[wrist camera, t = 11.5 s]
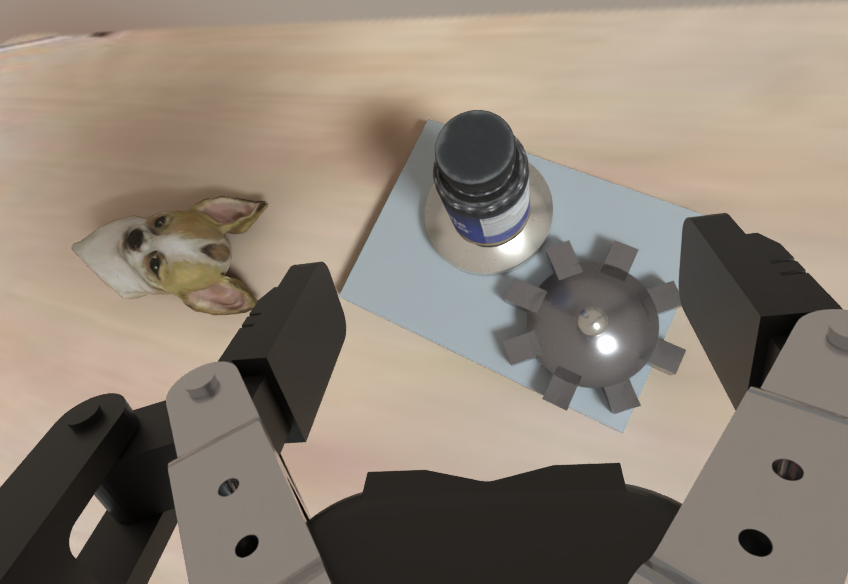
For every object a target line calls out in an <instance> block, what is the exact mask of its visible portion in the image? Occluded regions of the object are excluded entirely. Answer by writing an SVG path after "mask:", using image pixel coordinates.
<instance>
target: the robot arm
mask: <svg viewBox="0 0 848 584" xmlns="http://www.w3.org/2000/svg"><path fill="white" fill-rule="evenodd" d="M679 296H680V301H681V305H682V308H683V310H684V312H685V314H686V316H687V318H688V320H689V322H690V324H691V325H692V327H693V329H694V331H695V333H696V335H697V337H698V339H699V341H700V343H701V345H702V347H703V349H704V350H705V352H706V354H707V356H708V358H709V360H710V362H711V364H712V366H713V368H714V370H715V372H716V374H717V376H718V377H719V379H720V381H721V383H722V385H723V387H724V389H725V391H726V393H727V395H728V397H729V399H730V401H731V402H732V404H733V406H734V408H735V410H736V411H735V413H734V415H733V417H732V418H731V420H730V422H729V424H728V425H727V427H726V429H725V431H724V432H723V434H722V436H721V438H720V439H719V441H718V443H717V445H716V446H715V448H714V450H713V452H712V453H711V455H710V457H709V459H708V460H707V462H706V464H705V466H704V467H703V469H702V471H701V473H700V474H699V476H698V478H697V480H696V481H695V483H694V485H693V487H692V488H691V490H690V492H689V494H688V495H687V497H686V499H685V501H684V502H683V504H681V503H680V502H678V501H676V500H674V499H672V498H670V497H667V496H665V495H662V494H660V493H657V492H655V491H652V490H648V489H645V488H642V487H638V486H634V485H629V484H625V482H624V478H623V473H622V469H621V465H620V463H605V464H577V465H553V466H549V467H545V468H541V469H537V470H533V471H530V472H526V473H522V474H518V475H514V476H510V477H506V478H503V479H499V480H495V481H487V482H485V481H478V480H473V479H468V478H463V477H458V476H453V475H448V474H443V473H438V472H433V471H428V470H411V471H384V472H368V473H367V477H366V481H365V485H364V490H363V492H361V493H358V494H355V495H352V496H350V497H347V498H345V499H342V500H340V501H338V502H336V503H334V504H332V505H330V506H329V507H327V508H326V509H324V510H322V511H321V512H319V513H318V514H316V515H315V516H314V517H312V518H311V516H310V514H309V512H308V510H307V508H306V506H305V504H304V501H303V499H302V497H301V495H300V493H299V491H298V489H297V486H296V484H295V482H294V480H293V478H292V476H291V473H290V471H289V469H288V467H287V465H286V463H285V461H284V459H283V457H282V455H281V451H282V448H283V446H284V444H285V443H298V442H306V440H307V438H308V435H309V432H310V430H311V427H312V425H313V422H314V419H315V417H316V414H317V411H318V409H319V406H320V403H321V401H322V398H323V395H324V393H325V390H326V388H327V385H328V382H329V380H330V377H331V374H332V372H333V369H334V366H335V364H336V361H337V358H338V356H339V353H340V351H341V348H342V345H343V343H344V340H345V336H346V321H345V316H344V312H343V309H342V307H341V304H340V301H339V298H338V295H337V292H336V289H335V286H334V283H333V280H332V277H331V274H330V272H329V269H328V267H327V265H326V264H325V263H324V262H315V263H307V264H299V265H293V266H291V267H290V269H289V270H288V272H287V273H286V275H285V276H284V278H283V280H282V281H281V283H280V284H279V286H278V287H274V288H273V289H272V290H270V291H269V292H268V293H267V294H266V295H264V296H263V297H262V298H261V299H259V300H258V302H257V303H256V305H255V306H254V308H253V309H252V311H251V312H250V314H249V315H250V317H247V318H246V320H245V321H244V323H243V324H242V328H240V329H239V330H238V332H237V333H236V335H235V336H234V338H233V339H232V341H231V342H230V344H229V345H228V347H227V348H226V350H225V351H224V353H223V355H222V356H221V358H220V359H219V361H218V362H213V363H209V364H206V365H203V366H200V367H198V368H196V369H194V370H192V371H190V372H189V373H187V374H185V375H184V376H183V377H181V378H180V379H179V380H178V381H177V382H176V383H175V384H174V385H173V386H172V387H171V389H170V390H169V392H168V394H167V397H166V400H165V401H162V402H159V403H156V404H152V405H149V406H146V407H142V408H139V409H136V410H132V408H131V407H130V406H129V404H128V403H127V401H126V400H125V398H124V397H123V396H122V395H120V394H115V393H109V394H103V395H99V396H96V397H93V398H90V399H88V400H86V401H84V402H82V403H80V404H78V405H77V406H75V407H74V408H72V409H71V410H69V411H68V412H67V413H65V414H64V415H63V416H62V417H61V418H60V419H59V420H58V421H57V422H56V423H55V424H54V425H53V426H52V428H51V429H50V430H49V431H48V432H47V433H46V435H45V436H44V437H43V438H42V439H41V440H40V442H39V443H38V444H37V445H36V446H35V447H34V449H33V450H32V451H31V452H30V453H29V454H28V456H27V457H26V458H25V459H24V460H23V461H22V463H21V464H20V465H19V466H18V467H17V469H16V470H15V471H14V472H13V473H12V474H11V476H10V477H9V478H8V479H7V480H6V481H5V483H4V484H3V485H2V486H1V487H0V584H148V582H149V579H150V577H151V575H152V573H153V571H154V569H155V567H156V565H157V563H158V561H159V559H160V557H161V555H162V553H163V551H164V549H165V547H166V545H167V543H168V541H169V539H170V537H171V535H172V533H173V531H174V528H175V526H176V524H177V522H178V527H179V532H180V537H181V543H182V548H183V554H184V559H185V565H186V570H187V575H188V581H189V584H844V583H845V580H846V576H847V573H848V310H843V309H842V308H841V307H840V305H839V304H838V303H837V302H836V301H835V300H834V299H833V298H832V297H831V296H830V295H829V294H828V293H827V292H826V291H825V290H824V289H823V288H822V287H821V286H820V285H819V284H818V283H817V282H816V280H815V279H814V278H813V277H812V276H811V275H810V274H809V273H806V272H805V269H804V268H803V267H802V266H801V265H800V264H799V263H798V262H797V261H794V258H793V256H792V255H791V254H790V253H789V252H788V251H787V250H786V249H785V248H784V247H783V246H782V245H781V244H780V243H778V242H775V241H773V240H771V239H769V238H767V237H765V236H763V235H761V234H759V233H752V234H745V233H744V232H743V230H742V229H741V228H740V227H739V226H738V225H737V224H736V222H735V221H734V220H733V219H732V218H731V217H730V216H729V215H728V214H727V213H720V214H712V215H704V216H696V217H688V218H686V219H685V220H684V223H683V228H682V240H681V254H680V267H679ZM93 495H95V496H96V498H97V499H98V500H99V501H100V502H101V503H102V505H103V506H104V507H105V508H106V509H107V511H106V512H105V514H104V515H103V517H102V519H101V520H100V522H99V523H98V525H97V527H96V528H95V530H94V531H93V533H92V535H91V536H90V538H89V539H88V541H87V542H86V544H85V546H84V547H83V549H82V550H81V552H80V554H79V555H78V557H77V558H75V557H74V556H73V555H72V553H71V551H70V547H69V538H70V533H71V530H72V527H73V525H74V524H75V522H76V520H77V519H78V517H79V516H80V514H81V513H82V511H83V510H84V508H85V507H86V506H87V504H88V503H89V501H90V500H91V498H92V497H93Z"/></svg>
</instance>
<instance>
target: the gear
mask: <svg viewBox="0 0 848 584" xmlns="http://www.w3.org/2000/svg"><path fill="white" fill-rule="evenodd" d="M638 250H639V249H636V248H634V247H631V246H629V245H626V244H623V243H621V242H618V241H615V240H614V242H613V244H612V246H611V249H610V251H609V253H608V255H607V257H606V260H605V262H604V263H597V262H583V263H579V261H578V259H577V257H576V254H575V252H574V250H573V247H572V245H571V243H570V240H568V241H565V242H563V243H560V244H557V245H555V246H552V247H549V248H547V249H546V256H547V258H548V261H549V263H550V266H551V268H552V270H553V274H552V275H550V276H549V277H548V278H547V279H546V280H545V281H544V282H543V283H542V284H541V285H540V286H539V288H538V287H536V286H533V285H531V284H529V283H526V282H524V281H522V280H519V279H517V278H514V280H513V282H512V284H511V286H510V288H509V290H508V293H507V295H506V297H505V302H506V303H507V304H509V305H512V306H514V307H516V308H518V309H521V310H523V311H525V312H528V313H527V333H525V334H523V335H520V336H517V337H514V338H512V339H509V340H506V341H503V344H504V347H505V349H506V352H507V355H508V357H509V360H510V363H511V365H512V366H515V365H518V364H521V363H524V362H527V361H529V360H532V359H535V358H537V359H538V361H539V362H540V363H541V364H542V366H543V367H544V368H545V369H546V370H547V371H548V372H549V373H551V374H552V375H553V377H552V379H551V381H550V383H549V385H548V388H547V390H546V392H545V394H544V396H543V399H544V400H546V401H548V402H550V403H552V404H554V405H556V406H558V407H560V408H562V409H564V410H567V409H568V407H569V405H570V402H571V400H572V398H573V396H574V393H575V391H576V389H577V387H583V388H601V389H602V391H603V393H604V396H605V398H606V401H607V403H608V405H609V408H610V410H611V413H612V414H617V413H620V412H623V411H626V410H629V409H632V408H635V407H638V406H641V405H640V402H639V400H638V398H637V395H636V393H635V391H634V389H633V386H632V384H631V382H630V379H629V378H631V377H633V376H634V375H635V374H637V373H638V372H639V371H640V370H641V369H642V368H643V367H644V366H645V365H648V366H651V367H653V368H655V369H657V370H660V371H662V372H664V373H667V374H669V375H674V374H676V372H677V370H678V368H679V365H680V363H681V361H682V358H683V356H684V354H685V351H686V350H685V349H683V348H680V347H678V346H676V345H673V344H671V343H668V342H666V341H664V340H661V339H659V338H658V336H659V317H658V315H660V314H663V313H666V312H669V311H672V310H675V309H677V308H680V307H681V306H682V305H681V301H680V296H679V291H678V289H677V287H676V285H675V283H674V280H673V281H670V282H668V283H665V284H662V285H659V286H656V287H654V288H651V289H648V290H646V288H645V287H644V286H643V285H642V284H641V283H640V282H639V281H638V280H637V279H636V278H635V277H633V276H632V275H631V274H629V271H630V268H631V266H632V264H633V262H634V259H635V257H636V255H637V253H638Z"/></svg>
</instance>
